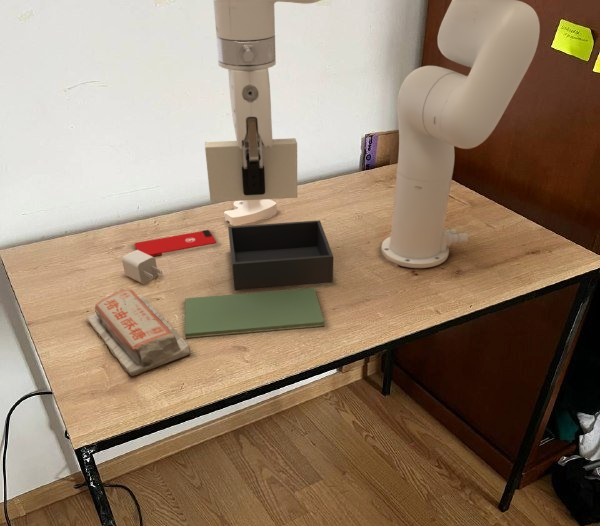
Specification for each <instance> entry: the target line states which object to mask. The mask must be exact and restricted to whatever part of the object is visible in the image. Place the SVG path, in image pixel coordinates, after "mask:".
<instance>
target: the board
mask: <svg viewBox="0 0 600 526" xmlns="http://www.w3.org/2000/svg"><path fill="white" fill-rule="evenodd" d="M272 140H273V146H272V147H271V148H268V146H267V147H265V146H264V144H263V142H262V157H263V166H264V173H265V194H263V195H244V193H243V179H242V167H244V166H243V150H242V149H240V148H239V147H238V144H237V140H226V141H225V140H223V141H205V142H204V151H205V152H204V153H205V160H206V161H205V162H206V171H207V172H206V173H207V181H208V191H209V192H208V193H209V201H210V203H221V202H235V201H244V200H260V201H261V200H263V199H270V200H280V199H282V200H283V199H296V198H297V199H298V142H297V138H293V137H291V138H272ZM257 143H258V144H259V142H257ZM245 145H248V142H245ZM246 152H247V153H249V151H246Z"/></svg>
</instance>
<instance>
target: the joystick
mask: <svg viewBox="0 0 600 526" xmlns="http://www.w3.org/2000/svg"><path fill="white" fill-rule="evenodd" d="M277 212H278V211H277V202H276V201H274V200H273V199H263V200H244V201H233V209H229V210H225V211H224V212H223V214H224V221H225V222H229V224H230V225H231V226H243V225H248V224H251V223H254V222H259V221H260V220H268V219H271V218H272V217H274V216H276V215H277Z"/></svg>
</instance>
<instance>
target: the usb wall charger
mask: <svg viewBox="0 0 600 526" xmlns="http://www.w3.org/2000/svg"><path fill="white" fill-rule="evenodd" d="M121 263H122V267H123V271H124V275H125V276H127V277H128V278H130V279H133V280H134V281H137V282H138V283H140V284H144V285H145V284H146V283H148V282H150V281H151V280H154V279H155V278H157V277H158V275H163V271H162V269H159V268H158V265H157V259H156V258H155V256H150V255H148V254H146V253H143V252H141V251H139V250H136V249H135V250H133V251H131V252H129V253H127V254H124V255H123V256H122V257H121Z"/></svg>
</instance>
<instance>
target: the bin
mask: <svg viewBox="0 0 600 526" xmlns="http://www.w3.org/2000/svg"><path fill="white" fill-rule="evenodd" d="M227 230H228V239H229V240H228V241H229V252H230V259H231V268H232V278H233V287H234V291H242V290H243V291H244V290H245V291H246V290H256V289H257V290H258V289H271V288H280V287H293V286H308V285H315V284H316V285H317V284H318V285H319V284H332V283H333V281H334V278H333V277H334V254H333V252H332V249H331V246H330V244H329V242H328V241H329V240H328V238H327V235H326V233H325V230H324V228H323V225H322V222H321V220H319V219H318V220H306V221H305V220H303V221H292V222H291V221H290V222H289V221H288V222H277V223H265V224H264V223H262V224H245V225H237V226H233V225H231V226H228V227H227Z"/></svg>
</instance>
